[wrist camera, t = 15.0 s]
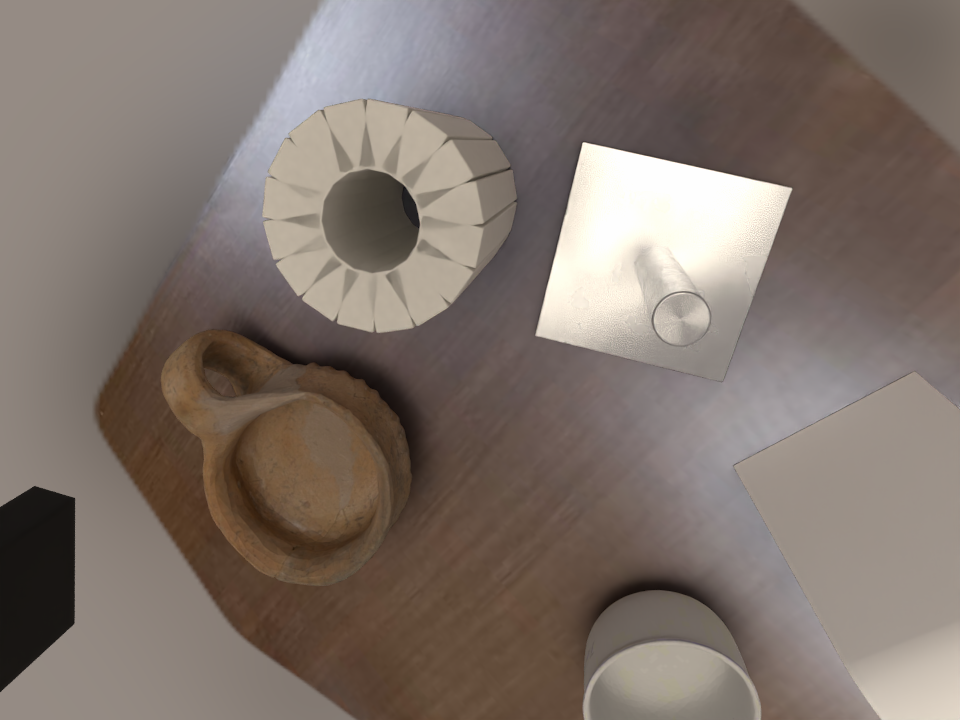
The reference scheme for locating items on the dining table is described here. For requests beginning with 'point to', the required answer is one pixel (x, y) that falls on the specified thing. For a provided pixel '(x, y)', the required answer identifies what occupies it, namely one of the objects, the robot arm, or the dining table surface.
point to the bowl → (291, 457)
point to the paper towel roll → (386, 211)
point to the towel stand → (659, 260)
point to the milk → (876, 540)
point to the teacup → (665, 663)
